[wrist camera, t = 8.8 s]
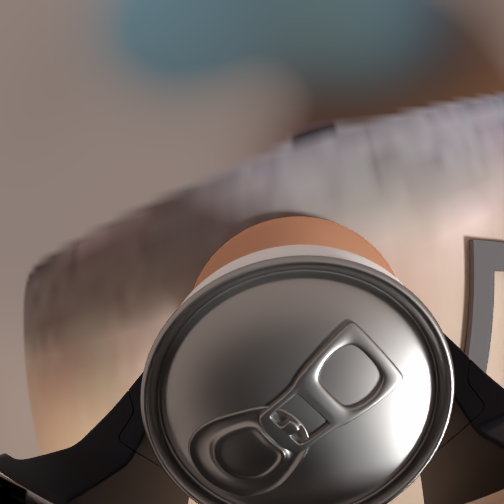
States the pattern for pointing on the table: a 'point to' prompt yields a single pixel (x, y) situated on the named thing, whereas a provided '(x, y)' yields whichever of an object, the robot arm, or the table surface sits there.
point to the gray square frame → (482, 298)
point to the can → (298, 382)
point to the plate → (291, 241)
